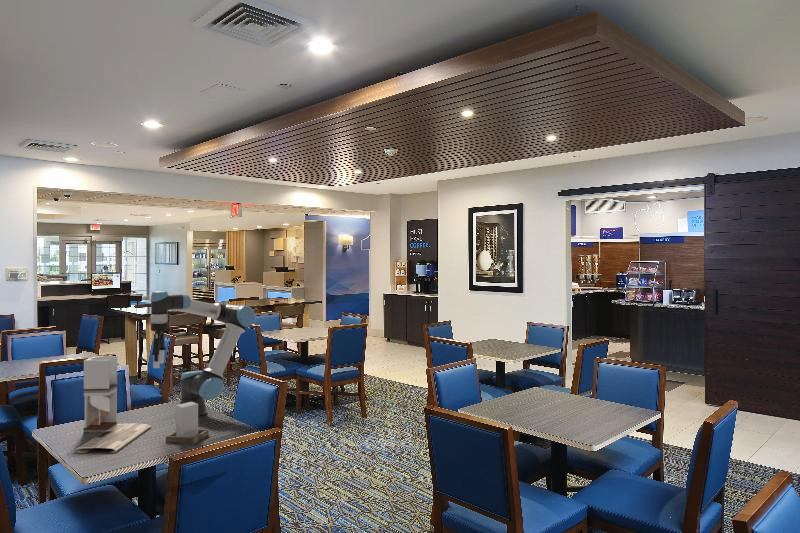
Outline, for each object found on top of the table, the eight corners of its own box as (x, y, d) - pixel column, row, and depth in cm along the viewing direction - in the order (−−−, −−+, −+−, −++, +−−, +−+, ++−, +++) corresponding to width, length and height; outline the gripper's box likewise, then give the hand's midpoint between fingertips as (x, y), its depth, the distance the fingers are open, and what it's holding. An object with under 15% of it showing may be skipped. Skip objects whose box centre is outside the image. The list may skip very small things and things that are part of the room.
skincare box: (192, 433, 266) (192, 401, 266) (199, 436, 262) (199, 403, 262) (175, 437, 260) (175, 404, 260) (182, 440, 256) (182, 407, 256)
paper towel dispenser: (83, 432, 270) (83, 360, 269) (92, 426, 280) (93, 356, 280) (108, 431, 271) (108, 360, 271) (116, 425, 282) (117, 356, 281)
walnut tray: (182, 433, 269) (182, 427, 269) (208, 435, 267) (208, 429, 267) (165, 442, 256) (165, 436, 256) (192, 444, 254) (192, 438, 254)
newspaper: (114, 428, 278) (114, 423, 278) (154, 428, 279) (154, 423, 279) (74, 454, 241) (74, 447, 241) (120, 454, 242) (120, 447, 242)
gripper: (155, 320, 286) (155, 361, 286) (146, 325, 262) (145, 370, 262) (171, 319, 288) (170, 360, 288) (163, 325, 264) (162, 370, 264)
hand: (158, 365), depth 275 cm, fingers open, 13 cm apart
